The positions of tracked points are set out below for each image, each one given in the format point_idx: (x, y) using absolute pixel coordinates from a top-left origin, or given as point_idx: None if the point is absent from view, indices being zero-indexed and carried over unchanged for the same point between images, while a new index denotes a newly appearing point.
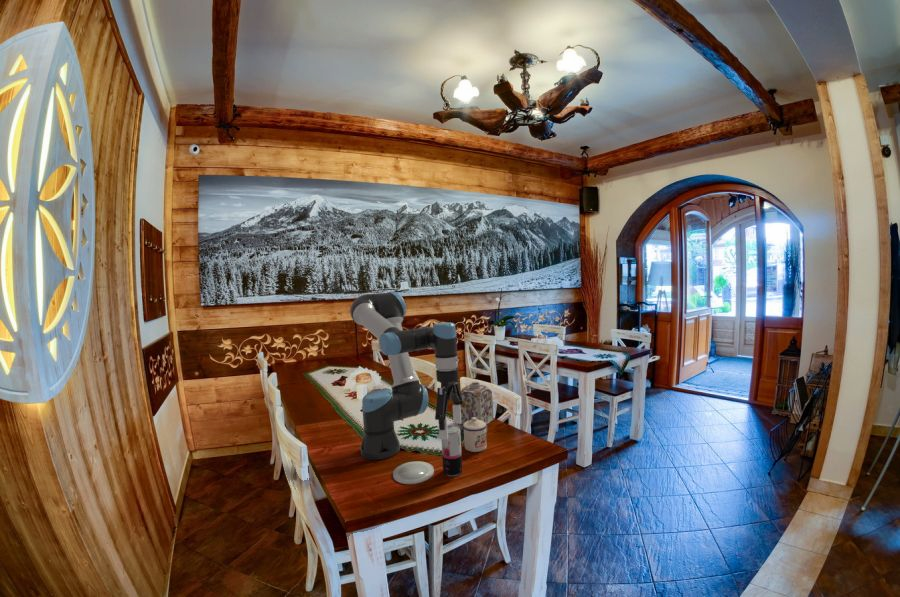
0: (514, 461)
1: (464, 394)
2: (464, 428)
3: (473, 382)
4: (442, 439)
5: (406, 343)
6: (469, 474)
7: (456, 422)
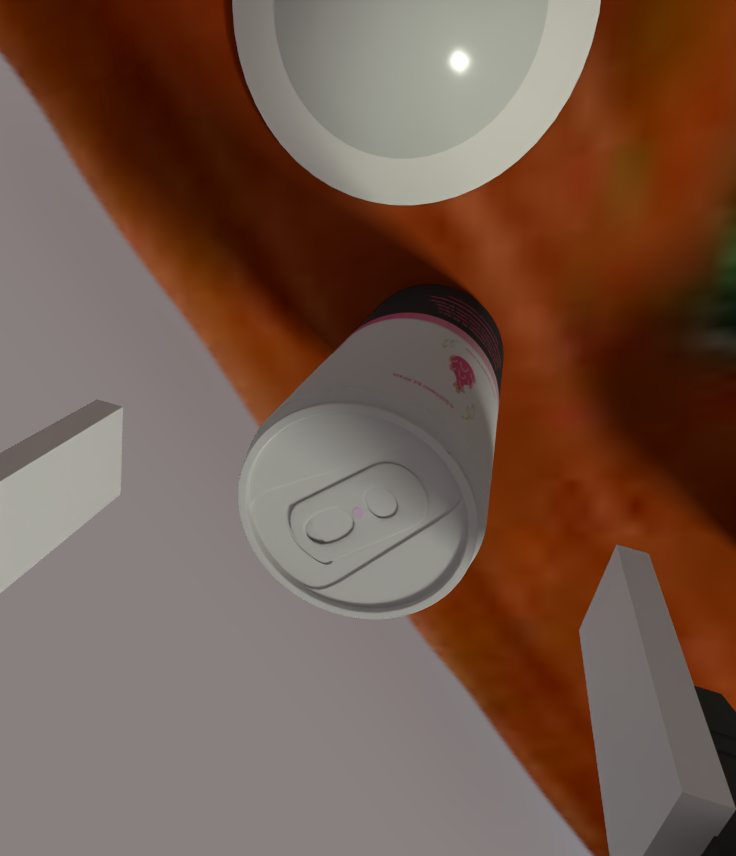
0: (560, 715)
1: None
2: None
3: None
4: (307, 380)
5: None
6: None
7: (603, 588)
